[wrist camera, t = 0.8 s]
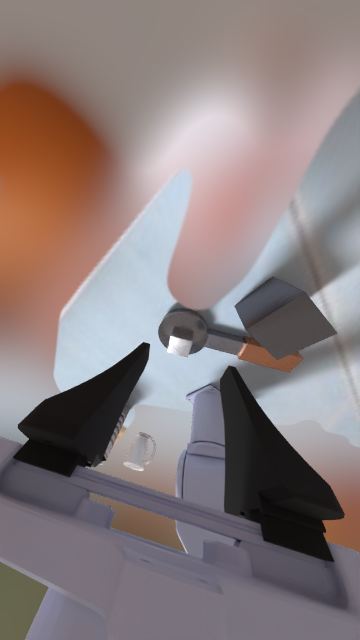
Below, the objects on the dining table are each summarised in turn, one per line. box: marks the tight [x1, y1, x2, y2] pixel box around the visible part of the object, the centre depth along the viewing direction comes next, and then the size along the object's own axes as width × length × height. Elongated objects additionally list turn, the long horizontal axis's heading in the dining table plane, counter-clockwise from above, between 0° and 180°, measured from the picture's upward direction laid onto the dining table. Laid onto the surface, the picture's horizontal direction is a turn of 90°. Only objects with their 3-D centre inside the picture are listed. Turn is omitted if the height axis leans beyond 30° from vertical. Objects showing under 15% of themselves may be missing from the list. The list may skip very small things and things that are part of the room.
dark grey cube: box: [235, 277, 337, 360], centre depth 15 cm, size 6×6×6 cm
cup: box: [123, 433, 156, 471], centre depth 44 cm, size 7×10×8 cm
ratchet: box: [158, 308, 303, 372], centre depth 20 cm, size 21×8×4 cm, turn 79°
